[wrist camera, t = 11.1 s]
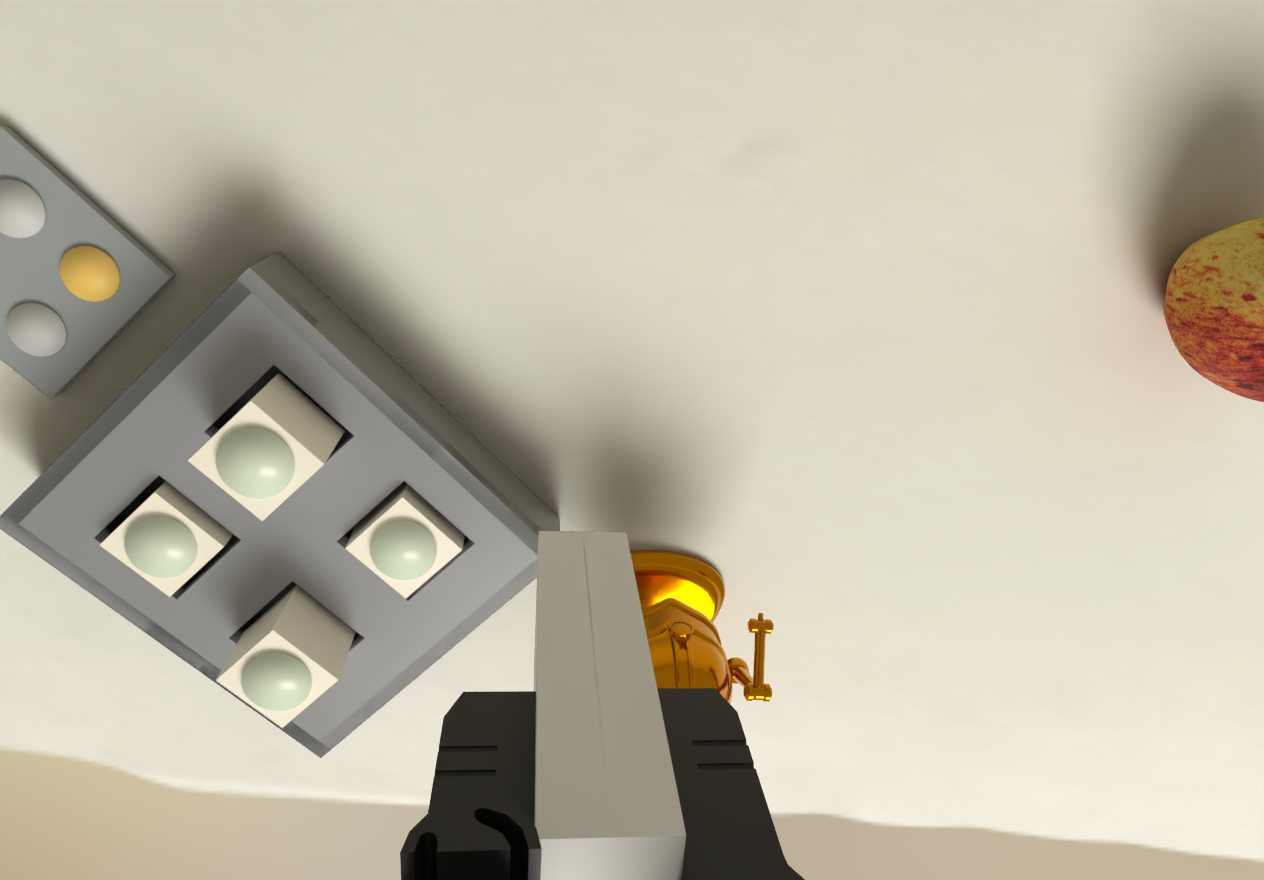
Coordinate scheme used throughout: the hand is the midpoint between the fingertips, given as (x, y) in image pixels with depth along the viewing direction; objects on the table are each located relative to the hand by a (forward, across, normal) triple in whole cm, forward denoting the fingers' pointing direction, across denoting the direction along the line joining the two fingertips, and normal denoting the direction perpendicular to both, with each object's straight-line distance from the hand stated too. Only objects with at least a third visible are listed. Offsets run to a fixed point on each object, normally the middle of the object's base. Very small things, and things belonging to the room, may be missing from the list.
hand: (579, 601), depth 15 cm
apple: (+31, +35, +1) cm, 47 cm away
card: (+30, -25, -1) cm, 39 cm away
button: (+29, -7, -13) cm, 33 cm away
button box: (+30, -13, -13) cm, 35 cm away
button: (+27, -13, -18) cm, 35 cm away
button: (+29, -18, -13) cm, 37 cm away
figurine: (+31, +6, -19) cm, 37 cm away
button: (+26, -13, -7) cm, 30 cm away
